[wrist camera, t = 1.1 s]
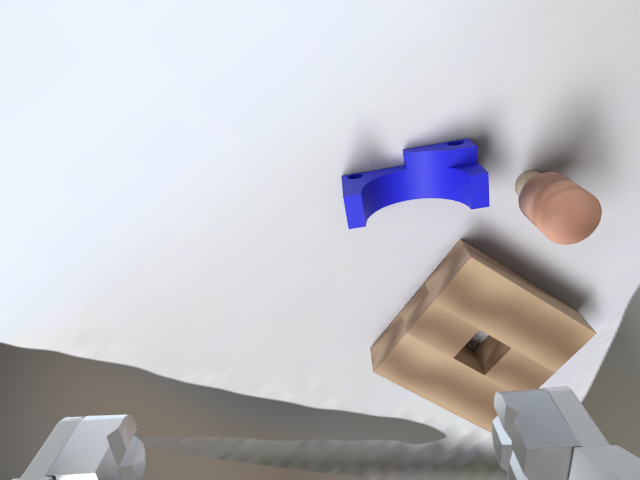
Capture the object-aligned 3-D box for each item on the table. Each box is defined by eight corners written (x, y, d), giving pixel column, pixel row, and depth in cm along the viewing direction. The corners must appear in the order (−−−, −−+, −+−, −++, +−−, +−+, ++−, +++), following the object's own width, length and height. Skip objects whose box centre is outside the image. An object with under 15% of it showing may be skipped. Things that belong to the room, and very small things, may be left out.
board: (460, 239, 48) (471, 257, 44) (577, 311, 51) (596, 333, 47) (370, 348, 54) (373, 372, 50) (480, 406, 57) (491, 432, 53)
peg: (528, 151, 44) (570, 179, 36) (565, 177, 45) (614, 209, 37) (495, 191, 46) (529, 226, 38) (531, 215, 47) (571, 254, 39)
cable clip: (467, 138, 44) (487, 154, 38) (470, 184, 45) (489, 206, 40) (338, 160, 45) (340, 179, 39) (346, 204, 47) (348, 229, 41)
